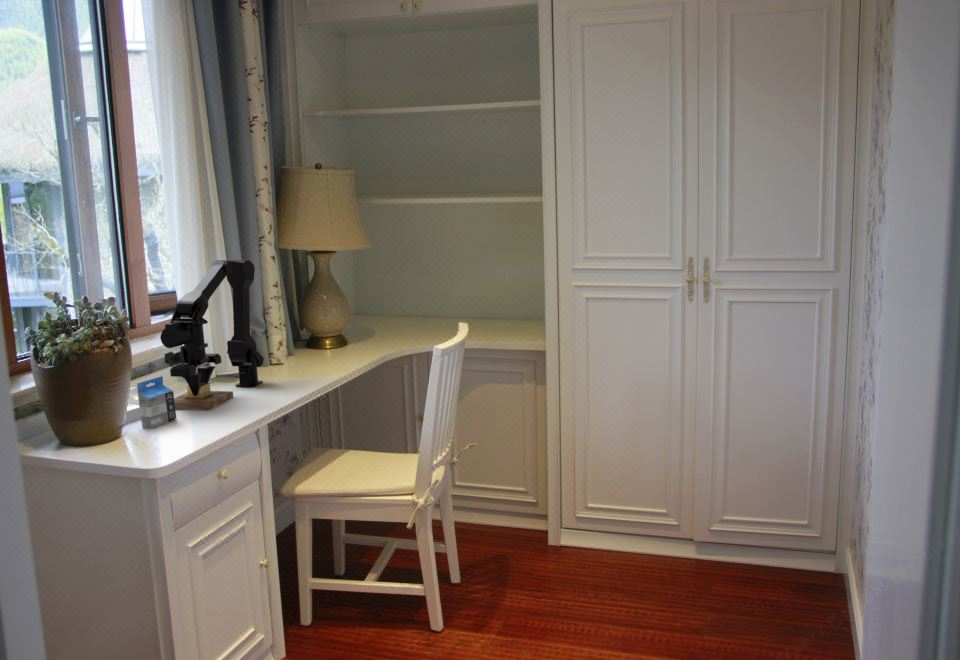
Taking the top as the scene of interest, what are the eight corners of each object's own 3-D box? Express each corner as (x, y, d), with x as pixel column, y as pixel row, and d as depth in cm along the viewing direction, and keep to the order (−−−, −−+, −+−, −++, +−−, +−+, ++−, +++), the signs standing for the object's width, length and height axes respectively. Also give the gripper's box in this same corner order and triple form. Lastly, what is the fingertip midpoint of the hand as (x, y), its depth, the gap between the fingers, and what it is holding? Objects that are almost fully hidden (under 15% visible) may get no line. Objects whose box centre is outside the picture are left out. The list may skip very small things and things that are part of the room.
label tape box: (151, 429, 229) (147, 384, 227) (141, 427, 231) (136, 383, 228) (177, 420, 237) (172, 376, 234) (166, 419, 238) (161, 375, 236)
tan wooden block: (195, 395, 256) (194, 382, 255) (210, 396, 255) (209, 382, 254) (188, 399, 252) (186, 386, 251) (203, 399, 251) (202, 386, 250)
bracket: (136, 412, 247) (133, 387, 246) (154, 415, 244) (151, 389, 242) (97, 425, 236) (94, 398, 234) (115, 427, 232) (112, 400, 231)
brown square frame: (191, 396, 262) (190, 390, 262) (233, 397, 259) (232, 391, 259) (165, 409, 249) (164, 402, 248) (209, 410, 246) (208, 403, 245)
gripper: (186, 335, 261) (191, 385, 264) (150, 347, 243) (156, 401, 246) (220, 335, 259) (224, 385, 262) (186, 348, 241) (191, 402, 244)
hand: (199, 393), depth 253 cm, fingers closed on tan wooden block, 4 cm apart
